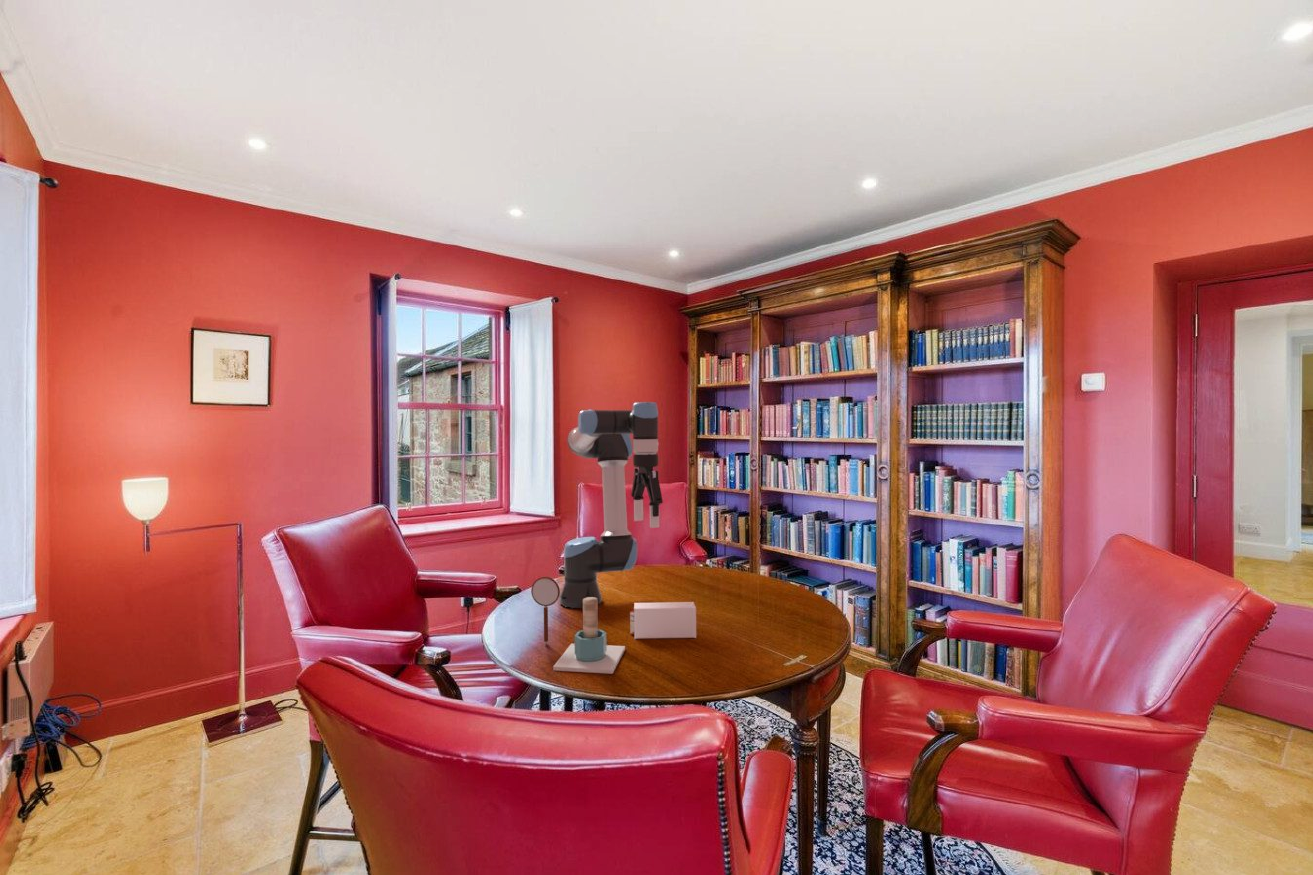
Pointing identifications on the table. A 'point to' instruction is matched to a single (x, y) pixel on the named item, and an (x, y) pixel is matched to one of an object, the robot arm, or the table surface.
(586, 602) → the pillar candle on dish
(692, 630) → the cigarette display
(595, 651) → the octagonal cup on tile
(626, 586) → the table surface
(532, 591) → the magnifying glass
